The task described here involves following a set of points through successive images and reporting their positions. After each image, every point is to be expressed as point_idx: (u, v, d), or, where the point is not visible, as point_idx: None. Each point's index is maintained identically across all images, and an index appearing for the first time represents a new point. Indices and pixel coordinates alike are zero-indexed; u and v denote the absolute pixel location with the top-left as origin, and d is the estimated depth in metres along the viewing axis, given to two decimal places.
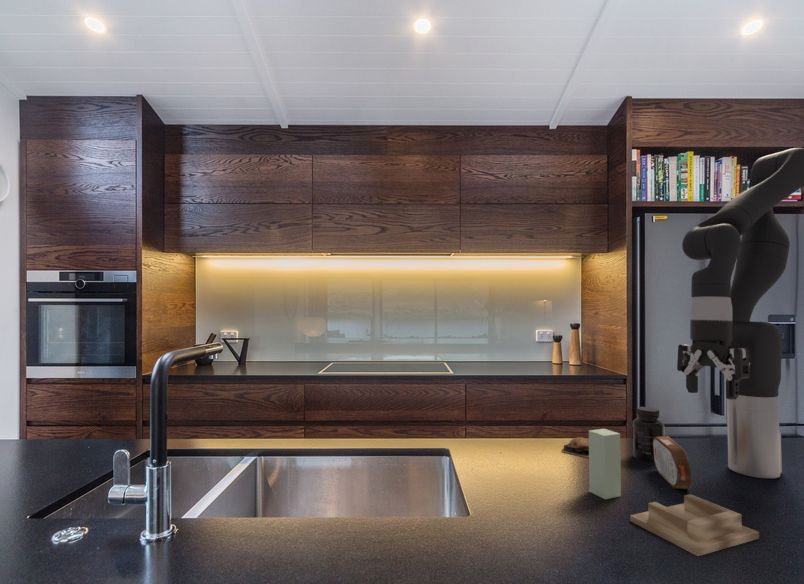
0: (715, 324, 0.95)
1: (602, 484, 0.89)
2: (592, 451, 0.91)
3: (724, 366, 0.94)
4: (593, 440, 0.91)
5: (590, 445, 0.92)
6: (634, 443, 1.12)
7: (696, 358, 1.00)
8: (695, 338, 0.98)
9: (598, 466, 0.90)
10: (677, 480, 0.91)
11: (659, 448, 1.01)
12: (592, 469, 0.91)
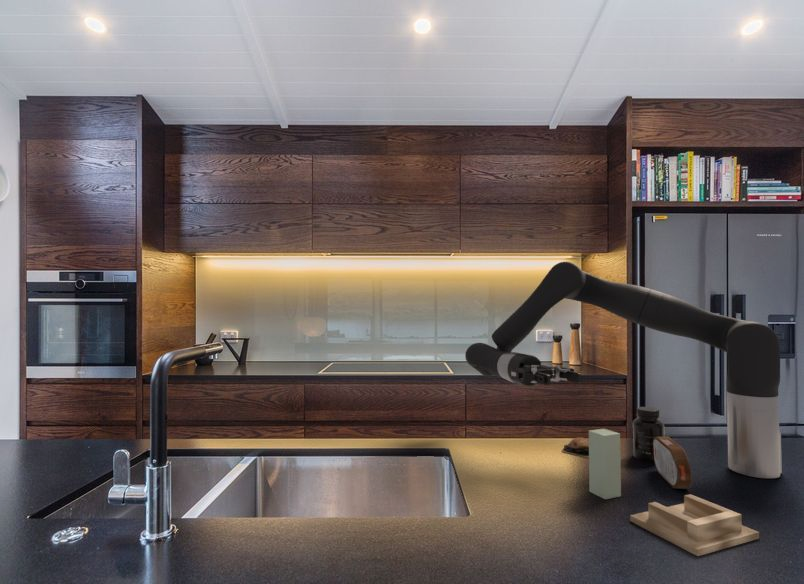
0: (512, 379, 1.14)
1: (602, 484, 0.89)
2: (592, 451, 0.91)
3: (531, 381, 1.06)
4: (593, 440, 0.91)
5: (590, 445, 0.92)
6: (634, 443, 1.12)
7: None
8: (532, 385, 1.13)
9: (598, 466, 0.90)
10: (677, 480, 0.91)
11: (659, 448, 1.01)
12: (592, 469, 0.91)
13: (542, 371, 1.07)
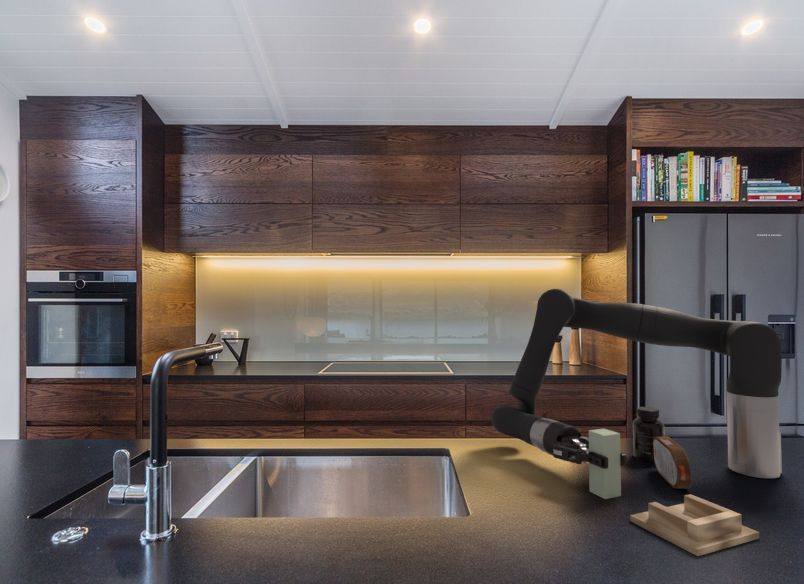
0: (548, 452, 1.02)
1: (602, 484, 0.89)
2: (592, 450, 0.91)
3: None
4: (593, 440, 0.91)
5: (590, 445, 0.92)
6: (634, 443, 1.12)
7: None
8: None
9: None
10: (677, 480, 0.91)
11: (659, 448, 1.01)
12: (592, 469, 0.91)
13: None
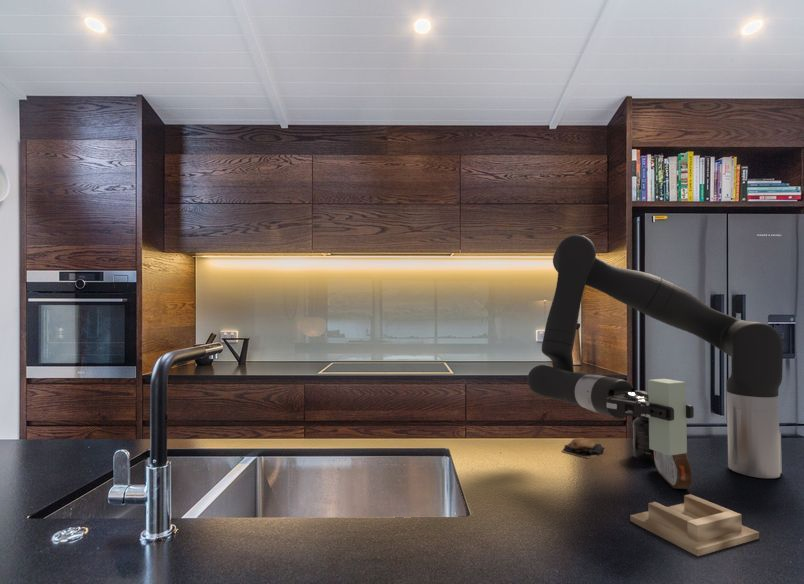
0: (597, 409, 0.91)
1: (665, 438, 0.78)
2: (653, 402, 0.81)
3: None
4: (654, 390, 0.80)
5: (650, 396, 0.81)
6: (634, 443, 1.12)
7: None
8: (623, 417, 0.90)
9: (660, 419, 0.79)
10: (677, 480, 0.91)
11: None
12: (653, 423, 0.81)
13: None
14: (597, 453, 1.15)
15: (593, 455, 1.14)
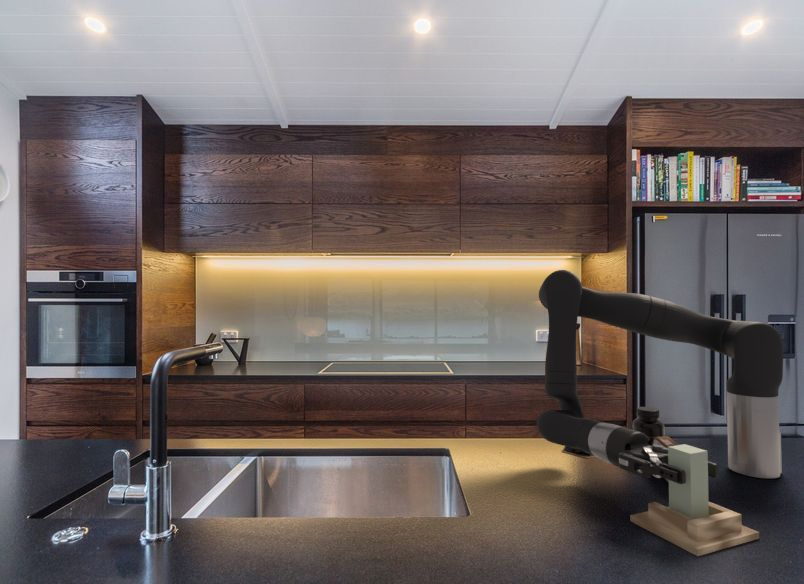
0: (613, 462, 0.88)
1: (687, 511, 0.75)
2: None
3: None
4: (674, 458, 0.77)
5: (670, 464, 0.78)
6: None
7: None
8: None
9: (681, 489, 0.76)
10: None
11: None
12: (673, 492, 0.77)
13: (661, 458, 0.81)
14: None
15: None
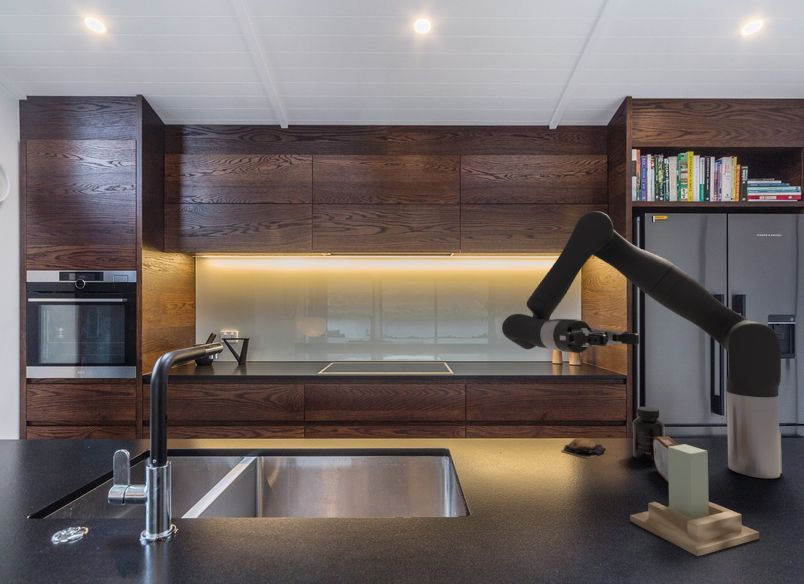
0: (559, 346, 1.05)
1: (687, 511, 0.75)
2: (673, 471, 0.77)
3: (582, 344, 0.97)
4: (674, 458, 0.77)
5: (670, 464, 0.78)
6: (634, 443, 1.12)
7: None
8: (581, 352, 1.04)
9: (681, 489, 0.76)
10: None
11: (659, 448, 1.01)
12: (673, 492, 0.77)
13: (594, 334, 0.98)
14: (597, 453, 1.14)
15: (593, 455, 1.14)
